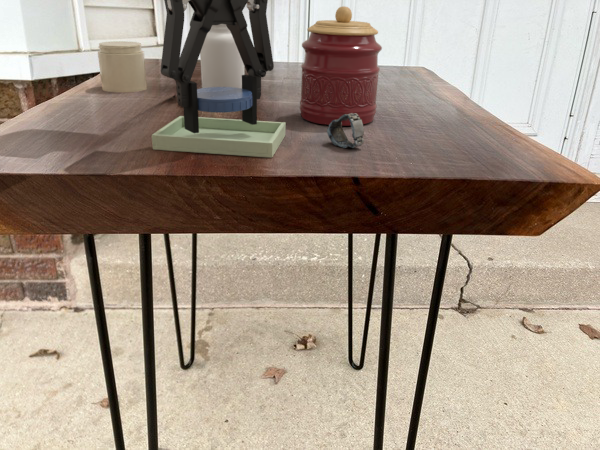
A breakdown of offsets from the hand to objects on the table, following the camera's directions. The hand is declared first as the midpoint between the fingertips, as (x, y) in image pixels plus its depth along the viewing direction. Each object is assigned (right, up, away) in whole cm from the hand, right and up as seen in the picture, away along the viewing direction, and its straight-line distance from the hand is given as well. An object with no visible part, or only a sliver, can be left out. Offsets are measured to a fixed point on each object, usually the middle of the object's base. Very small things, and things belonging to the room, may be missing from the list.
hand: (221, 126), depth 74 cm
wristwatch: (+17, -3, +1) cm, 17 cm away
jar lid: (0, +4, -2) cm, 4 cm away
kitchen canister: (+17, +4, +17) cm, 24 cm away
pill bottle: (-3, +9, +26) cm, 28 cm away
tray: (0, -2, +1) cm, 2 cm away
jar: (-22, +10, +25) cm, 35 cm away
